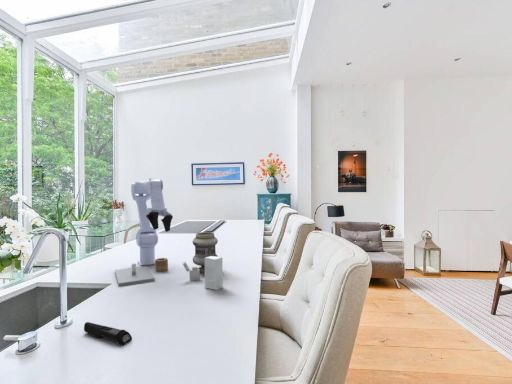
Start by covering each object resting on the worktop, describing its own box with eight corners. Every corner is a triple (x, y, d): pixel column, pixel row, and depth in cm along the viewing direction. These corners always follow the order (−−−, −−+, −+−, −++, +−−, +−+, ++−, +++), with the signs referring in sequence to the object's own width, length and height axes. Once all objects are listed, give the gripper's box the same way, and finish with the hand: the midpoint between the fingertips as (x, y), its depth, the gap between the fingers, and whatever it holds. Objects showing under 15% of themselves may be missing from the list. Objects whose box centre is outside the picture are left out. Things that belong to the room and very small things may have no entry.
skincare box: (223, 287, 118) (222, 257, 118) (216, 290, 115) (216, 259, 114) (211, 284, 122) (210, 255, 121) (204, 287, 118) (204, 257, 118)
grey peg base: (114, 272, 139) (114, 259, 139) (146, 268, 146) (146, 256, 146) (118, 286, 120) (118, 271, 120) (154, 280, 127) (154, 267, 126)
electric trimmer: (92, 329, 85) (92, 318, 85) (133, 340, 78) (132, 328, 78) (80, 335, 81) (79, 324, 81) (121, 347, 75) (121, 335, 75)
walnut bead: (154, 269, 144) (154, 258, 144) (166, 267, 147) (166, 257, 147) (156, 271, 140) (156, 261, 140) (168, 270, 142) (168, 259, 142)
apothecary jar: (187, 272, 139) (187, 233, 139) (203, 266, 150) (203, 230, 149) (208, 275, 133) (208, 235, 133) (223, 269, 144) (223, 232, 144)
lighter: (199, 278, 130) (199, 260, 130) (199, 279, 128) (199, 261, 128) (182, 280, 128) (182, 261, 128) (182, 281, 126) (182, 262, 126)
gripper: (152, 196, 132) (157, 224, 127) (174, 202, 144) (179, 228, 139) (141, 202, 134) (145, 230, 129) (163, 208, 147) (167, 234, 142)
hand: (162, 230), depth 134 cm, fingers open, 7 cm apart
